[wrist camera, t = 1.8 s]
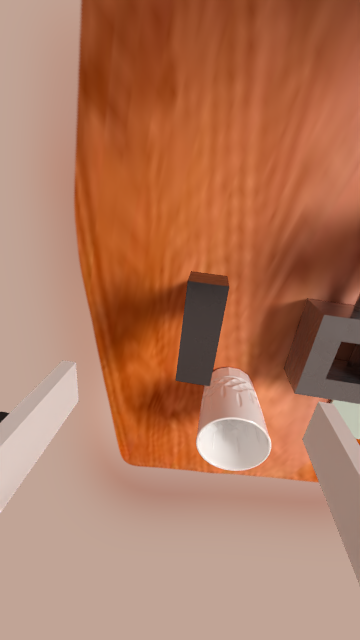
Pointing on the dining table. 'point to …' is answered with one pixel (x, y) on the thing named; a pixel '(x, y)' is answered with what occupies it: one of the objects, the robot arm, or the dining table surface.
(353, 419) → the mat
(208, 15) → the dining table surface
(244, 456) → the white cup
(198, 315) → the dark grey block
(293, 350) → the block
